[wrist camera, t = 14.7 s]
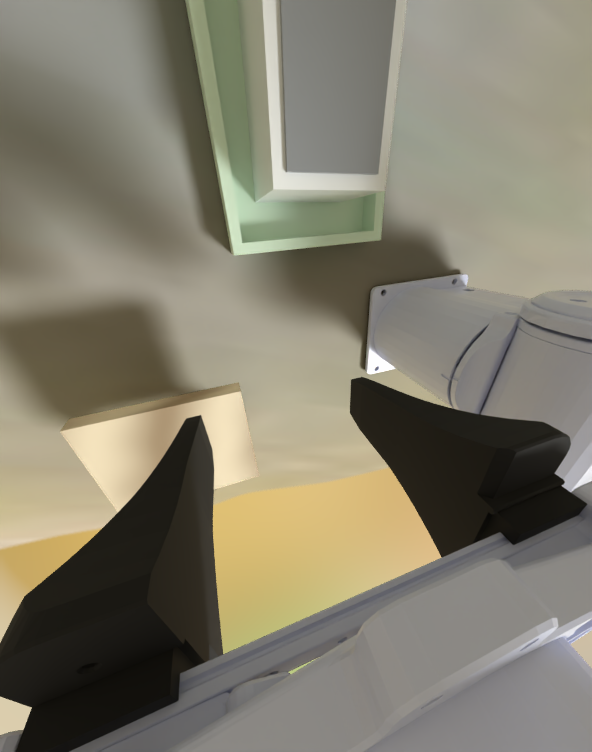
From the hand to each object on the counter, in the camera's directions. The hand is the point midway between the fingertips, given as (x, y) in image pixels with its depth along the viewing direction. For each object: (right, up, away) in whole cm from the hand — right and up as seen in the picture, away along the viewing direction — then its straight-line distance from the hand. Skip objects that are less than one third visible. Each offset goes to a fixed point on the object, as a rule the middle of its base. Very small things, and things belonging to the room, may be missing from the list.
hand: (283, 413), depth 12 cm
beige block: (-8, 0, +8) cm, 12 cm away
